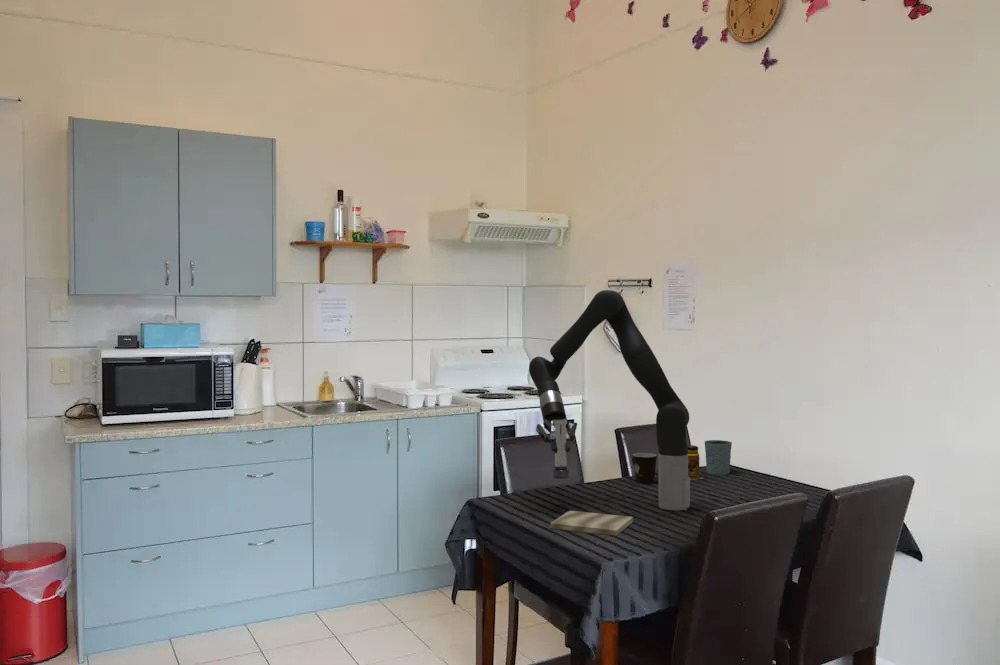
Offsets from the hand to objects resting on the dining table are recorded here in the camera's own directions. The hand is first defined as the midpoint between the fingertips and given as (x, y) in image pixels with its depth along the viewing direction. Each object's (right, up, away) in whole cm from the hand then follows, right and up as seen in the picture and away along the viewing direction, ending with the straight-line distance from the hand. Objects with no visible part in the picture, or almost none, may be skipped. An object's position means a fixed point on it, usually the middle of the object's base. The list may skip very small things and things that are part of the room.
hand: (562, 451), depth 248 cm
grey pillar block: (0, -8, +2) cm, 9 cm away
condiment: (+52, -18, +52) cm, 76 cm away
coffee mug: (+34, -18, +46) cm, 60 cm away
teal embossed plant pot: (+65, -17, +60) cm, 90 cm away
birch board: (+8, -20, -14) cm, 25 cm away
